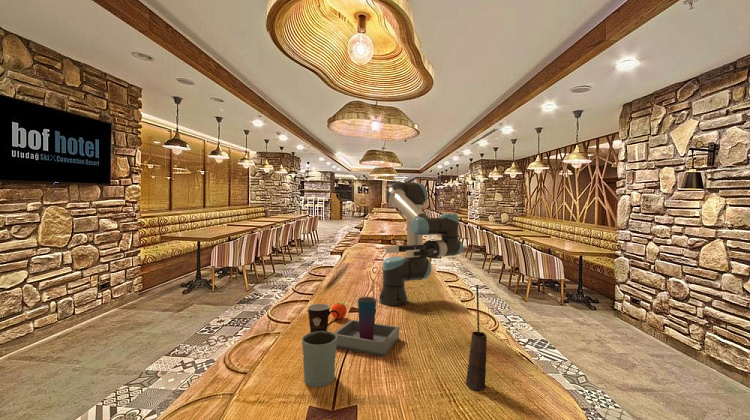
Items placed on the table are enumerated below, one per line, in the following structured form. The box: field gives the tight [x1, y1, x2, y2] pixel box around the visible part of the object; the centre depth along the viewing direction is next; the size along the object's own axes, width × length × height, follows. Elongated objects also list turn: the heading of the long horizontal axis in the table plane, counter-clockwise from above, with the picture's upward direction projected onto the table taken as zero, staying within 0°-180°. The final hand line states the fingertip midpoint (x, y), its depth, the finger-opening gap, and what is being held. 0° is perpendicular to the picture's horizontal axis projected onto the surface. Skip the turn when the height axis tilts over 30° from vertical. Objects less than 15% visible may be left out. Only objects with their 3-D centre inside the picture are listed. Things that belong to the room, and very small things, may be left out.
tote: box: [333, 319, 400, 358], centre depth 115 cm, size 16×20×4 cm
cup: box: [357, 296, 377, 340], centre depth 115 cm, size 7×7×15 cm
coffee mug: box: [307, 303, 339, 333], centre depth 123 cm, size 12×9×10 cm
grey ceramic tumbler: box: [301, 330, 337, 388], centre depth 90 cm, size 10×10×12 cm
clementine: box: [330, 302, 349, 320], centre depth 140 cm, size 8×7×7 cm
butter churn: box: [465, 284, 488, 391], centre depth 86 cm, size 9×10×28 cm
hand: (395, 252), depth 126 cm, fingers open, 13 cm apart
